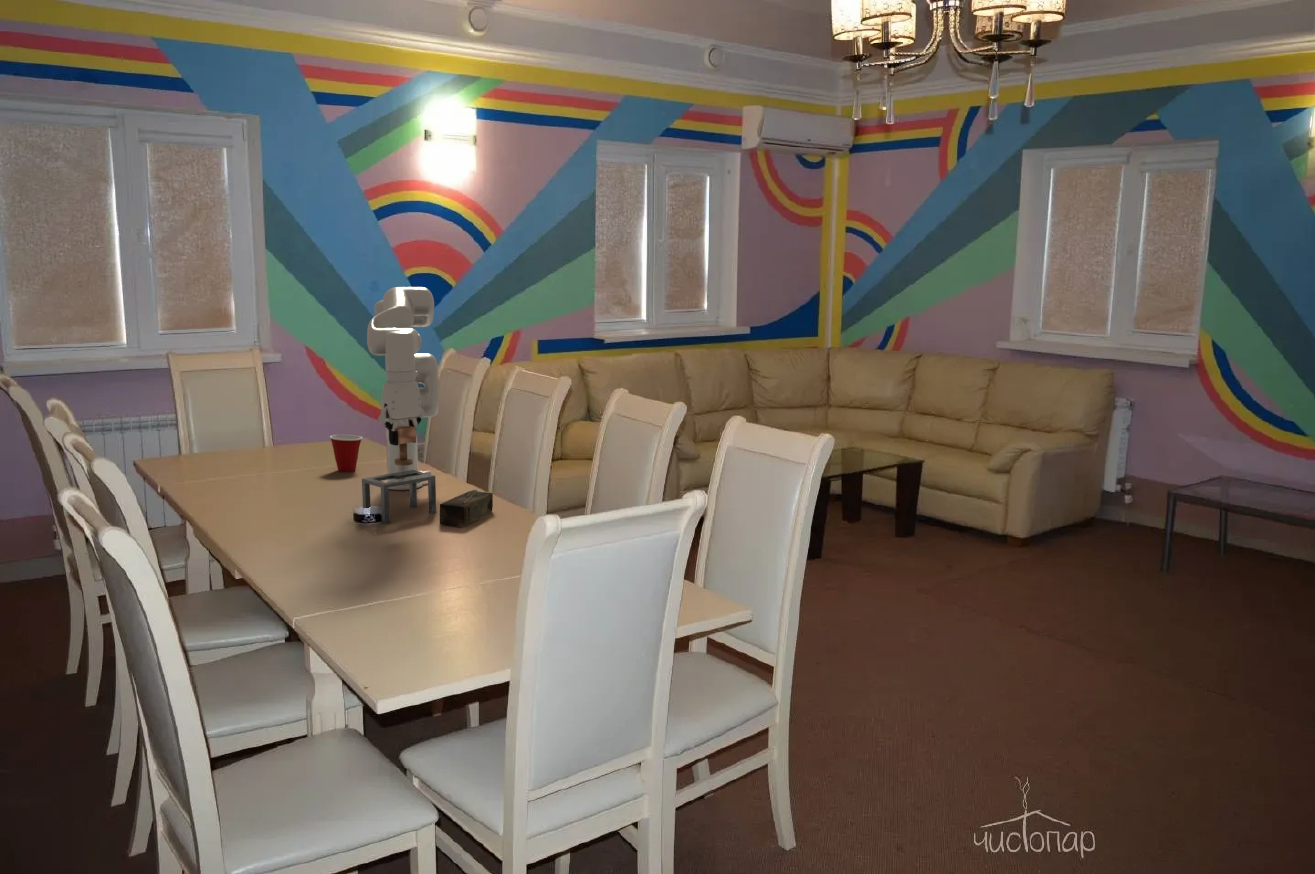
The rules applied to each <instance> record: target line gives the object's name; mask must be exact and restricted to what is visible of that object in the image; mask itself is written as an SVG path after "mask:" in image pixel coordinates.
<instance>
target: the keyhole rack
mask: <svg viewBox="0 0 1315 874" xmlns="http://www.w3.org/2000/svg"><path fill="white" fill-rule="evenodd" d="M420 471H421V470H419V471H416V470H409V471H403V472H397V473H391V474H387V473H386V474H381V475H380V474H379V475H375V476H370V477H369V476H368V477H363V478H361V489H362V490H361V491H362V493H361V495H362V509H363V508H369V507H371V491H370V490H371V486H375V487H378V488H380V501H381V502H380V503H381V505H380V506H381V508H380V509H381V523H382V524H390V523H391V522H390V493H389V492H390V491H389V490H390V489H389V487H394V486H400V485H405V484H409V489H408V490H409V492H408V493H409V508H412V509H413V508H414V509H415V508H417V507H418V491H417V490H418V488H417V484H416V482H422V481H423V482H427V487H428V488H427V490H428V491H427V492H428V494H427V495H428V513H429V514H432V515H433V514H436V513H437V494H436V493H437V491H436V489H437V487H436V485H437V484H436V483H437V481H436V475H435V474H432V473H431V474H427V473H423V472H424V471H422V472H420ZM388 479H396V480H397V479H402V480H397V481H391V482H385V481H387V480H388Z"/></svg>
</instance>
